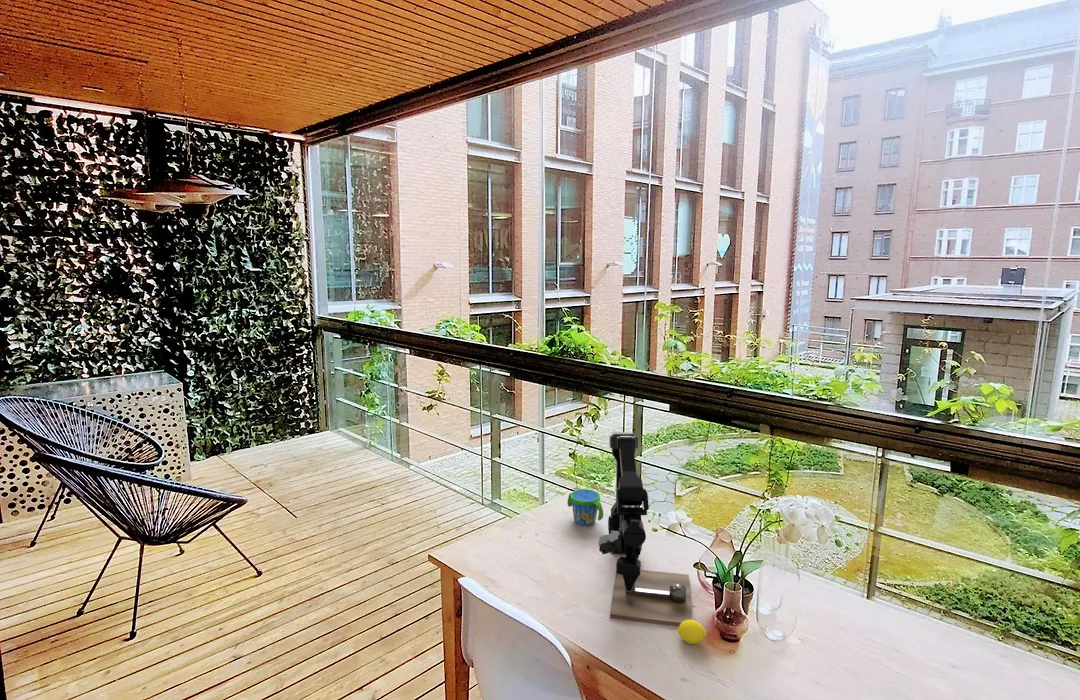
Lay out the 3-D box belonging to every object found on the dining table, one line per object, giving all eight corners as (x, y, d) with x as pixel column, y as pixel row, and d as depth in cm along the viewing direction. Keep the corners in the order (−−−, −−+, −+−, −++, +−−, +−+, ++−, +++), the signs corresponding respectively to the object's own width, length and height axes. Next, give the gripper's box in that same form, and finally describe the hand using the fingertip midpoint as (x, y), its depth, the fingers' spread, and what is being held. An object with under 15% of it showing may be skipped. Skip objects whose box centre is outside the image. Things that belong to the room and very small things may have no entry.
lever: (685, 594, 156) (686, 570, 155) (686, 603, 152) (687, 579, 151) (624, 587, 160) (624, 563, 159) (623, 596, 156) (623, 572, 154)
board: (616, 571, 171) (616, 567, 171) (688, 578, 167) (688, 574, 166) (609, 618, 149) (609, 613, 149) (692, 628, 145) (692, 623, 144)
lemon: (677, 647, 139) (674, 626, 138) (680, 633, 144) (677, 613, 143) (706, 650, 136) (704, 629, 135) (708, 636, 141) (706, 616, 140)
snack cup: (610, 525, 199) (611, 498, 198) (587, 534, 193) (588, 506, 192) (582, 510, 212) (582, 484, 210) (560, 517, 206) (559, 491, 204)
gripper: (603, 510, 165) (603, 560, 167) (596, 542, 147) (596, 597, 149) (642, 513, 163) (641, 564, 165) (640, 546, 145) (639, 602, 147)
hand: (629, 580), depth 157 cm, fingers open, 9 cm apart
